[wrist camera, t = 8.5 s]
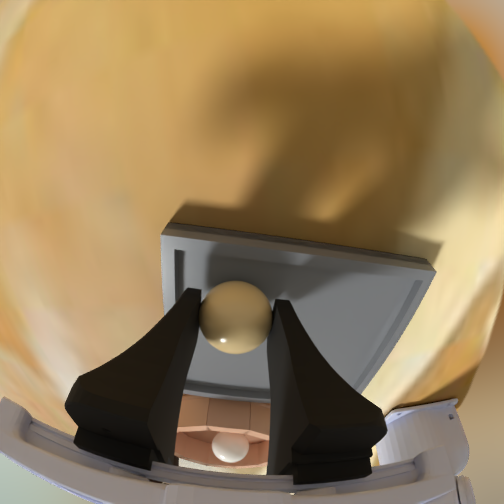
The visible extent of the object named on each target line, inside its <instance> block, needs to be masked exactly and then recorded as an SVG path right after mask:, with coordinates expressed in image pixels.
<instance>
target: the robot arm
mask: <svg viewBox="0 0 504 504" xmlns="http://www.w3.org/2000/svg"><path fill="white" fill-rule="evenodd" d="M201 295H202V289H196V288H189V287H188V288H186V289H185V291H184V292H183V294H182V295H181V296H180V298H179V299H178V300H177V302H176V303H175V304H174V305H173V306H172V308H171V309H170V310H169V311H168V312H167V313H166V315H165V316H164V317H163V318H162V319H161V320H160V321H159V322H158V323H157V324H156V325H155V326H154V327H153V328H152V329H151V330H150V331H149V332H148V333H147V334H146V335H145V336H143V337H142V338H141V339H140V340H139V341H137V342H136V343H135V344H134V345H132V346H131V347H130V348H128V349H127V350H126V351H124V352H123V353H121V354H120V355H118V356H117V357H115V358H113V359H112V360H110V361H109V362H107V363H105V364H104V365H102V366H100V367H98V368H96V369H94V370H92V371H90V372H87V373H85V374H83V375H81V376H79V377H78V378H77V380H76V382H75V383H74V385H73V387H72V388H71V391H70V393H69V395H68V397H67V400H66V402H65V409H66V411H67V413H68V414H69V415H70V417H71V418H72V419H73V420H74V422H75V423H76V424H77V425H78V430H77V432H76V435H75V437H74V436H72V435H70V434H67V433H65V432H62V431H60V430H58V429H56V428H53V427H51V426H49V425H47V424H45V423H43V422H41V421H39V420H37V419H35V418H33V417H32V416H31V414H30V413H29V412H28V411H27V410H26V409H25V408H23V407H22V406H20V405H19V404H17V403H15V402H13V401H11V400H10V399H8V398H6V397H3V398H2V400H1V402H0V453H2V454H3V455H5V456H6V457H7V458H9V459H10V460H11V461H13V462H14V463H16V464H18V465H19V466H21V467H22V468H24V469H26V470H27V471H29V472H31V473H33V474H35V475H36V476H38V477H40V478H42V479H43V480H45V481H47V482H49V483H51V484H53V485H55V486H57V487H59V488H61V489H63V490H65V491H67V492H70V493H72V494H74V495H76V496H78V497H81V498H83V499H86V500H88V501H90V502H93V503H96V504H476V502H475V497H474V493H473V489H472V486H471V482H470V479H469V478H468V477H464V476H463V475H462V476H460V477H458V476H456V475H458V474H459V473H460V472H461V471H462V470H463V469H464V468H465V466H466V464H467V462H468V459H469V444H468V441H467V438H466V435H465V433H464V430H463V427H462V424H461V421H460V419H459V416H458V414H457V411H456V409H455V406H454V405H455V404H456V403H457V402H458V399H457V398H455V399H450V400H446V401H441V402H436V403H431V404H425V405H420V406H413V407H407V408H400V409H395V410H392V411H391V412H390V413H389V414H388V415H387V416H386V417H385V418H384V415H383V413H382V410H381V409H380V408H379V407H377V406H376V405H375V404H373V403H372V402H370V401H369V400H367V399H366V398H365V397H363V396H362V395H361V394H360V393H358V392H357V391H356V390H355V389H354V388H352V387H351V386H350V385H349V384H348V383H347V382H346V381H345V380H344V379H343V378H342V377H341V376H340V375H339V374H338V373H337V372H336V371H335V370H334V369H333V368H332V367H331V365H330V364H329V363H328V362H327V361H326V359H325V358H324V357H323V356H322V354H321V353H320V352H319V350H318V349H317V347H316V346H315V344H314V343H313V341H312V340H311V338H310V337H309V335H308V333H307V332H306V330H305V328H304V327H303V325H302V323H301V321H300V320H299V318H298V316H297V314H296V312H295V310H294V308H293V306H292V304H291V302H290V301H289V300H283V299H275V302H274V306H273V310H272V312H273V322H272V328H271V331H270V333H269V335H268V337H267V361H268V372H269V383H270V398H271V406H270V434H269V450H268V463H267V474H266V475H249V474H234V473H223V472H213V471H205V470H198V469H191V468H185V467H179V466H174V465H173V463H174V453H175V444H176V436H177V428H178V421H179V414H180V408H181V402H182V396H183V390H184V386H185V382H186V378H187V375H188V371H189V368H190V364H191V361H192V358H193V354H194V351H195V347H196V344H197V339H198V334H199V328H200V325H199V318H198V317H199V309H200V305H201ZM375 444H376V449H377V453H378V458H379V463H380V466H375V467H371V463H370V457H372V455H373V453H372V447H373V446H374V445H375ZM147 478H148V479H152V480H157V481H161V482H166V483H171V484H169V485H167V484H161V483H154V482H149V480H148V479H147ZM289 493H295V494H294V495H290V494H289Z"/></svg>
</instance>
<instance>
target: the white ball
mask: <svg viewBox="0 0 504 504" xmlns="http://www.w3.org/2000/svg"><path fill="white" fill-rule="evenodd" d="M212 450H213V452H214V454H215V456H216V457H217V458H219V459H220V460H222V461H224V462H229V463H233V462H237V461H240V460H242V459H243V458H244V457H245V456H246V455H247V453H248V451H249V442H248V439H247V438H246V436H245V435H244V434H240V433H229V432H219V433H218V434H216V436H215V437H214V438H213V441H212Z"/></svg>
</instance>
